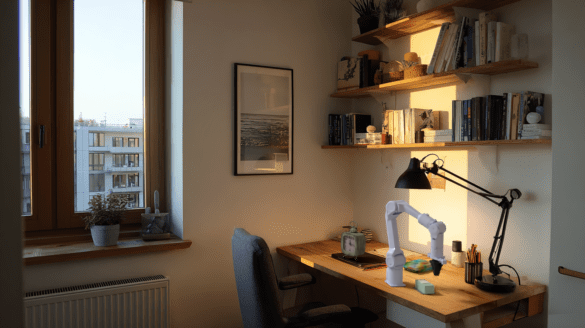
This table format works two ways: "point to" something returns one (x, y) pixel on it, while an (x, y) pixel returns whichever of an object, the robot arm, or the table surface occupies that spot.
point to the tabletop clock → (353, 242)
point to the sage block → (424, 286)
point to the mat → (419, 290)
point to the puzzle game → (418, 265)
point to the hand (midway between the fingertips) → (436, 275)
